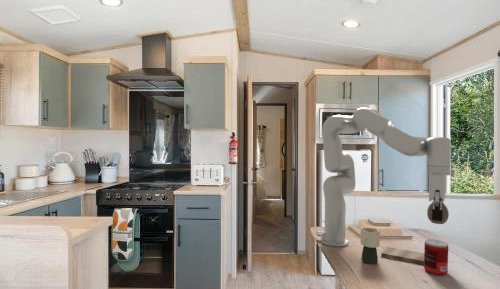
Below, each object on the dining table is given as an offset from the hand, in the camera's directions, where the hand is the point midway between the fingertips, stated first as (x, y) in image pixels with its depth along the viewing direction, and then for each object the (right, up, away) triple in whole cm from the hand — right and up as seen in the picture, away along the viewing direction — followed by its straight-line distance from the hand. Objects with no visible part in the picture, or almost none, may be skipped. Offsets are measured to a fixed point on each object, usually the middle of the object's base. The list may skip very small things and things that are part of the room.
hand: (437, 218), depth 121 cm
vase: (0, -2, 0) cm, 2 cm away
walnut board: (-5, -20, +15) cm, 26 cm away
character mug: (-22, -20, +9) cm, 31 cm away
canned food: (0, -20, 0) cm, 20 cm away
